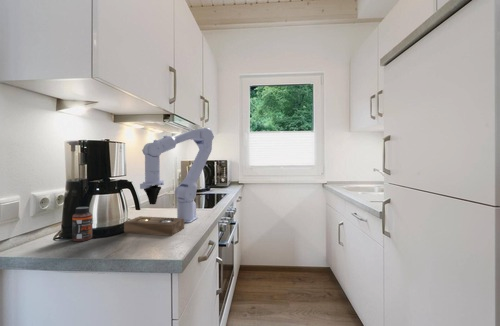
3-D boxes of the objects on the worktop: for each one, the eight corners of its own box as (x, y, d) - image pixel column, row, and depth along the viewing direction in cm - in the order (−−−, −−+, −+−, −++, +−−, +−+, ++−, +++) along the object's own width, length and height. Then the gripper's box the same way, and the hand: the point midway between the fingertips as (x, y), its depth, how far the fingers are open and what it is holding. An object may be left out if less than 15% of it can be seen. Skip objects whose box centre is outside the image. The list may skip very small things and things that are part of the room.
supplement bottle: (82, 242, 88) (82, 209, 88) (68, 241, 89) (67, 208, 89) (96, 237, 94) (96, 206, 94) (82, 236, 95) (82, 205, 95)
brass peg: (142, 227, 106) (142, 218, 106) (150, 227, 105) (150, 219, 105) (136, 229, 102) (135, 221, 102) (145, 230, 101) (145, 221, 101)
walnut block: (140, 225, 110) (139, 216, 109) (184, 228, 106) (183, 218, 106) (124, 232, 100) (124, 222, 100) (172, 235, 96) (172, 224, 96)
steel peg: (164, 228, 104) (164, 219, 104) (173, 228, 103) (173, 220, 103) (159, 231, 100) (159, 222, 100) (168, 231, 99) (168, 222, 99)
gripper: (153, 170, 116) (153, 200, 116) (132, 172, 101) (133, 207, 102) (167, 170, 114) (168, 201, 115) (149, 172, 100) (149, 207, 100)
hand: (152, 204), depth 108 cm, fingers closed
